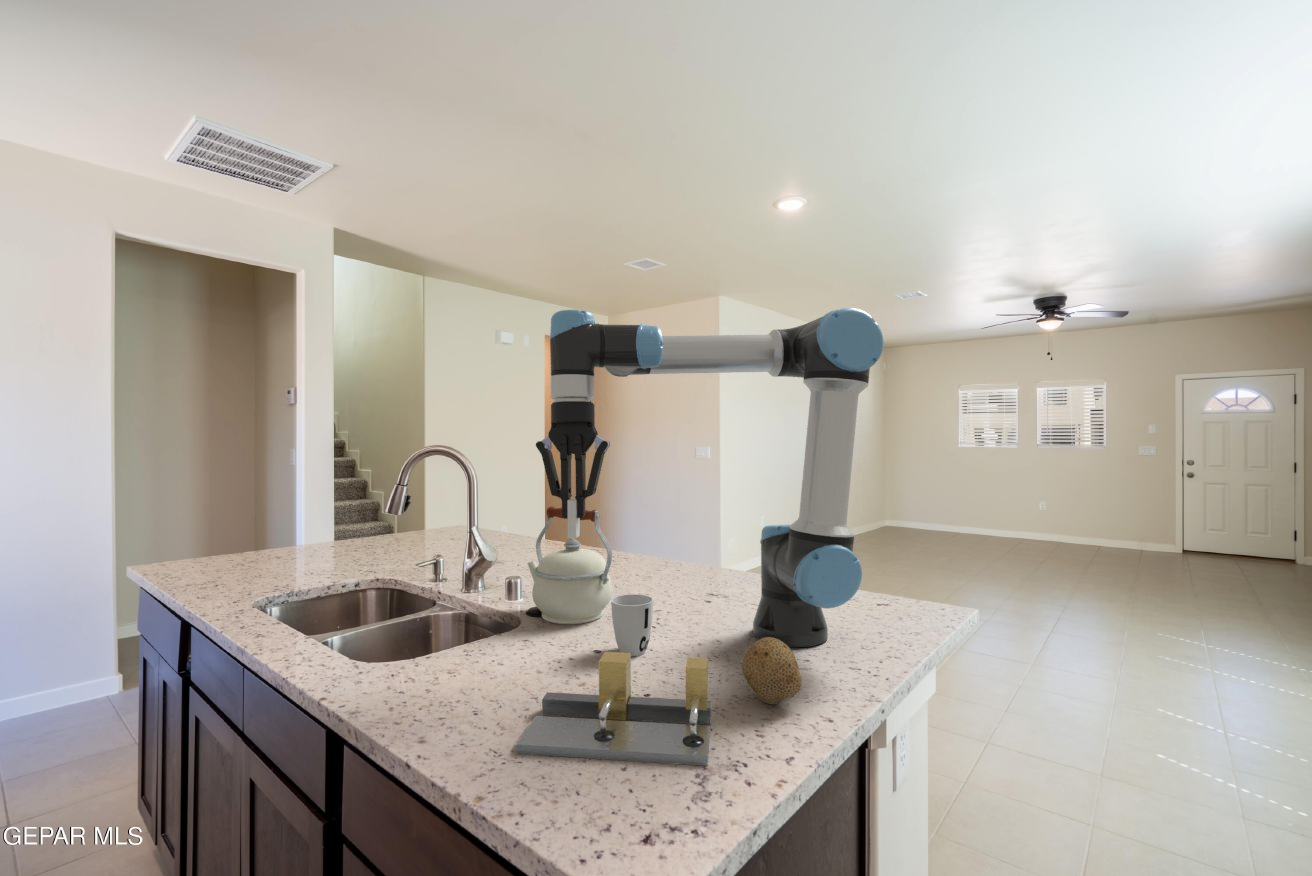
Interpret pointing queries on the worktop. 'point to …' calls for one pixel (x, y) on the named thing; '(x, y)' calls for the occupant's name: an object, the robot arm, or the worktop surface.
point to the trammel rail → (645, 702)
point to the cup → (632, 622)
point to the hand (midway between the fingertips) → (573, 536)
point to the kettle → (571, 578)
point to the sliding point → (614, 687)
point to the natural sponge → (771, 670)
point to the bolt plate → (616, 740)
